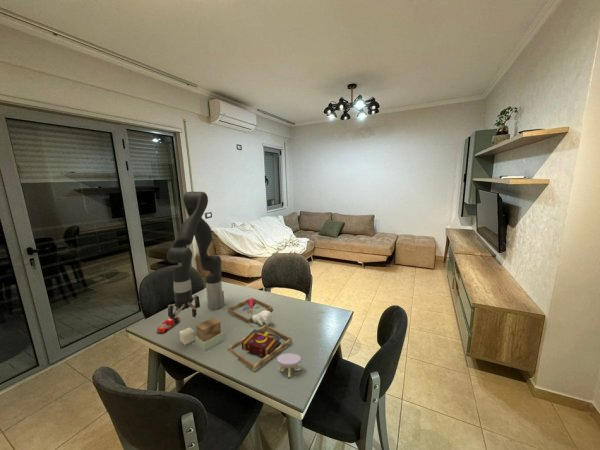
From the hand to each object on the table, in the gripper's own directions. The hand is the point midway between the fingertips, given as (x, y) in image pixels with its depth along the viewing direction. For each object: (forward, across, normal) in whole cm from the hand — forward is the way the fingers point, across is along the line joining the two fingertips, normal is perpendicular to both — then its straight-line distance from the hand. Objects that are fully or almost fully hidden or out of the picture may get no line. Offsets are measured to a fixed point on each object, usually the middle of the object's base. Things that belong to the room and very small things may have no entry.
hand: (185, 320), depth 117 cm
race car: (+12, 0, +21) cm, 25 cm away
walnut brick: (+7, +6, -10) cm, 13 cm away
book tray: (+12, +20, -31) cm, 39 cm away
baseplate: (+12, +6, -10) cm, 17 cm away
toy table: (+13, +18, -50) cm, 55 cm away
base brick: (+11, +6, -10) cm, 16 cm away
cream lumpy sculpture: (+12, +34, -16) cm, 39 cm away
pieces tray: (+12, +38, -1) cm, 40 cm away
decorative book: (+12, +20, -31) cm, 39 cm away
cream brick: (+12, 0, 0) cm, 12 cm away
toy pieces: (+12, +41, +2) cm, 43 cm away
